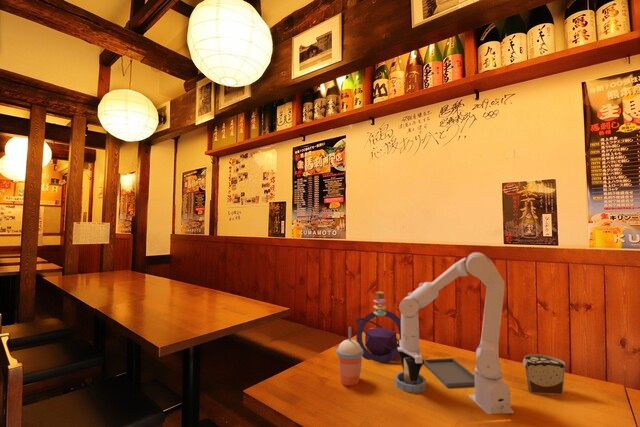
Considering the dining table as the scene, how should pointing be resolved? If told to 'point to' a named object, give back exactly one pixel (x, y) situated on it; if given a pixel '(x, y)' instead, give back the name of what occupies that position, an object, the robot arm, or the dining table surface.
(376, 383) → the dining table surface
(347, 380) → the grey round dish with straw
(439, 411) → the dining table surface
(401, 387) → the grey round dish
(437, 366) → the tray
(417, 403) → the dining table surface
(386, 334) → the decorative bottle
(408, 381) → the dowel pin
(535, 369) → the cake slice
